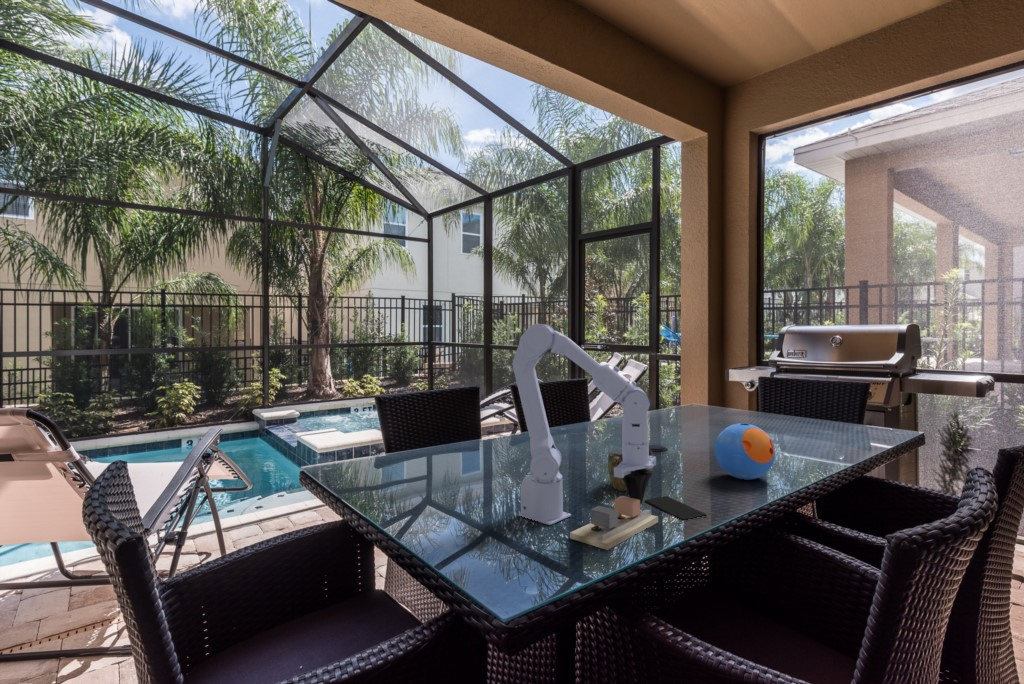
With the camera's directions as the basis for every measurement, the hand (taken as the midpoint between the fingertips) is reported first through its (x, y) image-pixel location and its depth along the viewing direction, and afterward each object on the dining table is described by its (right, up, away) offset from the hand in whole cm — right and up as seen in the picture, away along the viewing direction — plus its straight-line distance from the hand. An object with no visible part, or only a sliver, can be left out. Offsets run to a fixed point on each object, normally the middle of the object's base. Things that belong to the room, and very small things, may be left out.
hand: (636, 503), depth 120 cm
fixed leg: (-9, -3, -9) cm, 13 cm away
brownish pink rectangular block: (-3, -3, -2) cm, 4 cm away
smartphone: (+11, -4, +8) cm, 14 cm away
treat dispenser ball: (+38, -3, +32) cm, 49 cm away
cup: (+5, -4, +27) cm, 28 cm away
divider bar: (-4, -3, -7) cm, 8 cm away
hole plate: (-6, -4, -5) cm, 8 cm away
